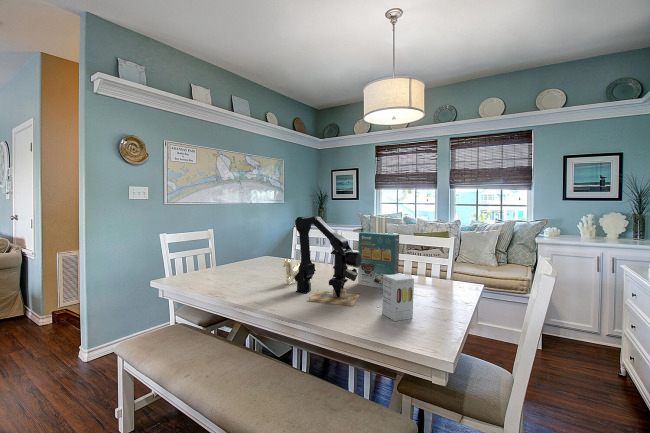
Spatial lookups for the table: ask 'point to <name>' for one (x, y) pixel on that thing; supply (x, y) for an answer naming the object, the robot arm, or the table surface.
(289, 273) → the unicorn
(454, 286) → the table surface
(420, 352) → the table surface
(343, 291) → the block
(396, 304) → the supplement box
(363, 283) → the cake mix box
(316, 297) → the board
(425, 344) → the table surface
